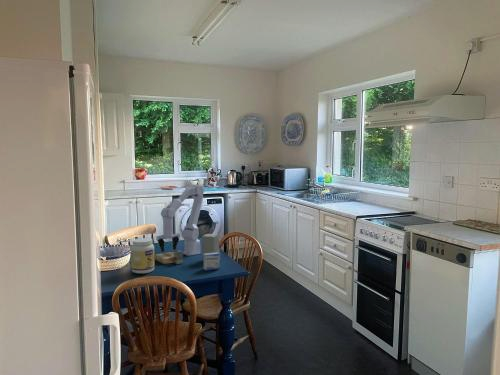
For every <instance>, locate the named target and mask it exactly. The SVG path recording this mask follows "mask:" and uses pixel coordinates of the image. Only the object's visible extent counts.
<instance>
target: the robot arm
mask: <svg viewBox="0 0 500 375" xmlns="http://www.w3.org/2000/svg"><path fill="white" fill-rule="evenodd" d="M204 192H205V188H204V186H203V185H202V184H195V183H189V184H187V186H185V190H184V191H182V192H181V194H180V195H179V196H178V197H177V198H175V199H172V200H171V201H170V203H169V204H167V205H166V206H165V207H163V209H162V210H161V211H160V216H161V217H162V230H163V232H162V234H161V235H158V236H155V240H156V241H157V242H158V244H159V248H160V251H161V252H162V253H165V240H167V239H171V240H172V249H173V251H177V245H178V243H179V241H180V237H182V238H183V241H184V251H183V255H185V256H189V257H190V256H194V255H199V254H202V253H201V241H200V239H198V238H199V237H200V236H199V234H200V233H199V230H200V228H199V227H198V226H197V225H198V221H199V217H200V213H201V208H202V204H203V201H204ZM190 196H191V198H192V199H193V202H192V206H191V210H190V214H189V219H188V223H187V224H186V225H185V226H184V227H183V229H182V231H181V233H174V217H175V215H176V213H177V211H178V210H179V209H180V208H181V207H182V205H183V204H182V203H184V202H185V201H186V200H187V199H188V197H190Z"/></svg>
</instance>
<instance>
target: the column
mask: <svg viewBox="0 0 500 375" xmlns="http://www.w3.org/2000/svg"><path fill="white" fill-rule="evenodd" d="M173 252H174V262H173V263H174V265H181V264H184V254H183V252H184V250H181V249H178V250H177V249H176V250H173Z"/></svg>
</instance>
